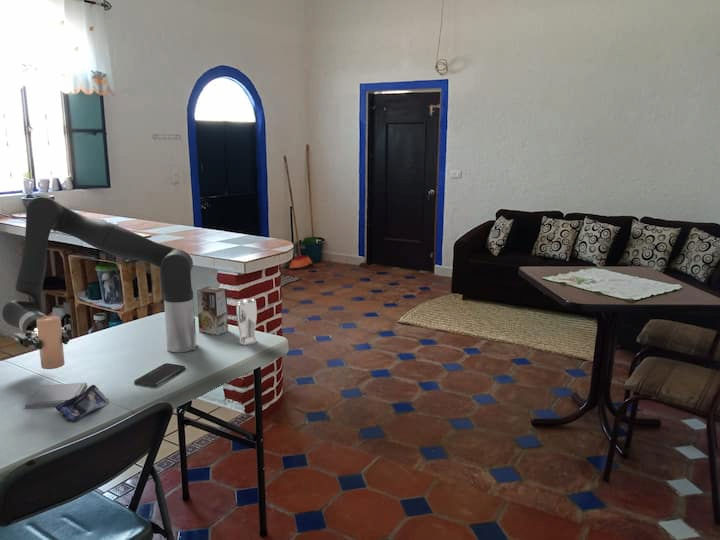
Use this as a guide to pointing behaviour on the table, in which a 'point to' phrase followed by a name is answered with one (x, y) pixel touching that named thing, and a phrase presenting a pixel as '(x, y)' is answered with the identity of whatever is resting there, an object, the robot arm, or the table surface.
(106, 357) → the table surface
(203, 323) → the coffee box
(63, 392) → the coaster
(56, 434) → the table surface
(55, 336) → the peach tall cylinder
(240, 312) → the beer glass
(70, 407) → the snack package
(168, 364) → the phone
